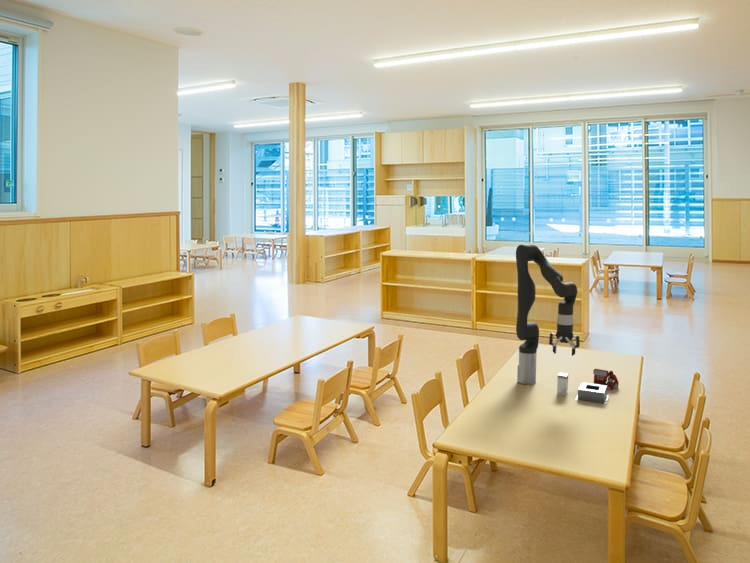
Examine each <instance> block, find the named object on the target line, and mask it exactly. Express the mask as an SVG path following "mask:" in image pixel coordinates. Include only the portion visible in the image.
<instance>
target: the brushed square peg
mask: <svg viewBox="0 0 750 563" xmlns="http://www.w3.org/2000/svg"><path fill="white" fill-rule="evenodd" d="M556 382H557V385H556V395H557V396H558V395H559V396H567V395H568V392H569V391H568V389H569V373H564V372H558V373H557V381H556Z"/></svg>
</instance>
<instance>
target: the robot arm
mask: <svg viewBox="0 0 750 563" xmlns="http://www.w3.org/2000/svg"><path fill="white" fill-rule="evenodd" d="M515 250H516V251H515V261H516V270H517V272H516V274H517V313H516V314H517V315H516V324H515V330H516V337H517V338H518V339H519V340H520V341H524V342H523V343H521V344H520V345H519V346H518V364H517V374H516V375H517V376H516V377H517V378H516V379H517V380H516V381H517V383H518V382H519V383H518V384H522V385H528V386H529V385H535V384H537V351H538V348H539V340H540V338H539V337H540V329H539V326H538V324H537V323H536V322H535V321H528V317H529V313H530V311H531V309H532V307H533V305H534V304H535V301H536V284H535V282H534V281H533V278H532V276H531V274H530V272H529V262H534V263H535V264H536V265H537V266H538V267H539V269H540V270H539V271H540V274H541V276H542V277H543V279H544V280H545V281H547V283H549V284H550V286H551V288H552V290H553V292H554V294H555V295H556V296H558V297H559V298H561V299H562V298H563V300H562V301H559V303H558V305H557V317H556V333H555V332H553V331H552V332H550V334H549V341H548V344H549V346H550V345H551V346H552V352H553V354H554V355H555V354H557V345H558V344H559V343H561V344H564V343H565V344H568V345H570V346H571V356H572V357H573V356H576V355H575V354H576V349H578V348H580V345H581V344H580V343H581V342H580V339H581V338H580V337H581V336H580V334H577V335H576V334H575V335H574V334H573V333H574V305H575V302H576V298H577V295H578V287H577V285H576V283H575V282H572V281H571V282H564V277H563V275H562V274H561V273H560V272H559V271H558V270H557V269H556V268H555V267H554V266H553V265H552V264H551V262H549V260H548V259H547V258H546V256H545V255H544V253H543V252H542V251H541V249H540V248H539V247H538V246H537V245H536V244H535V243H525V244H524V243H523V244H519V245H517V247H516V249H515ZM555 337H556V338H557V339H556V341H555V342H554V340H553V339H554V338H555ZM573 339H574V340H575V342H576V343H574V341H573Z"/></svg>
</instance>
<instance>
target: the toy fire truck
mask: <svg viewBox="0 0 750 563" xmlns="http://www.w3.org/2000/svg"><path fill="white" fill-rule="evenodd" d="M592 372H593V384H599V385H607V390H610V391H613V390H614V389H615V390H617V389H619V385H620V384H619V380H618V378H617V375H616V374H614V371H613V370H606V369H600V368H594V369H593V370H592Z"/></svg>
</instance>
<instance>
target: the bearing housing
mask: <svg viewBox="0 0 750 563" xmlns="http://www.w3.org/2000/svg"><path fill="white" fill-rule="evenodd" d="M607 393H608V389H607V385H599V384H594V383H593V382H592V383H590V382H585V381H584V382H583V381H582V382H581V383H580V384H579V386H578V389H577V394H576V397H575V401H582V402H587V403H588V402H589V403H595V404H601V405H607V403H608V399H609V396H610V394H607Z"/></svg>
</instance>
